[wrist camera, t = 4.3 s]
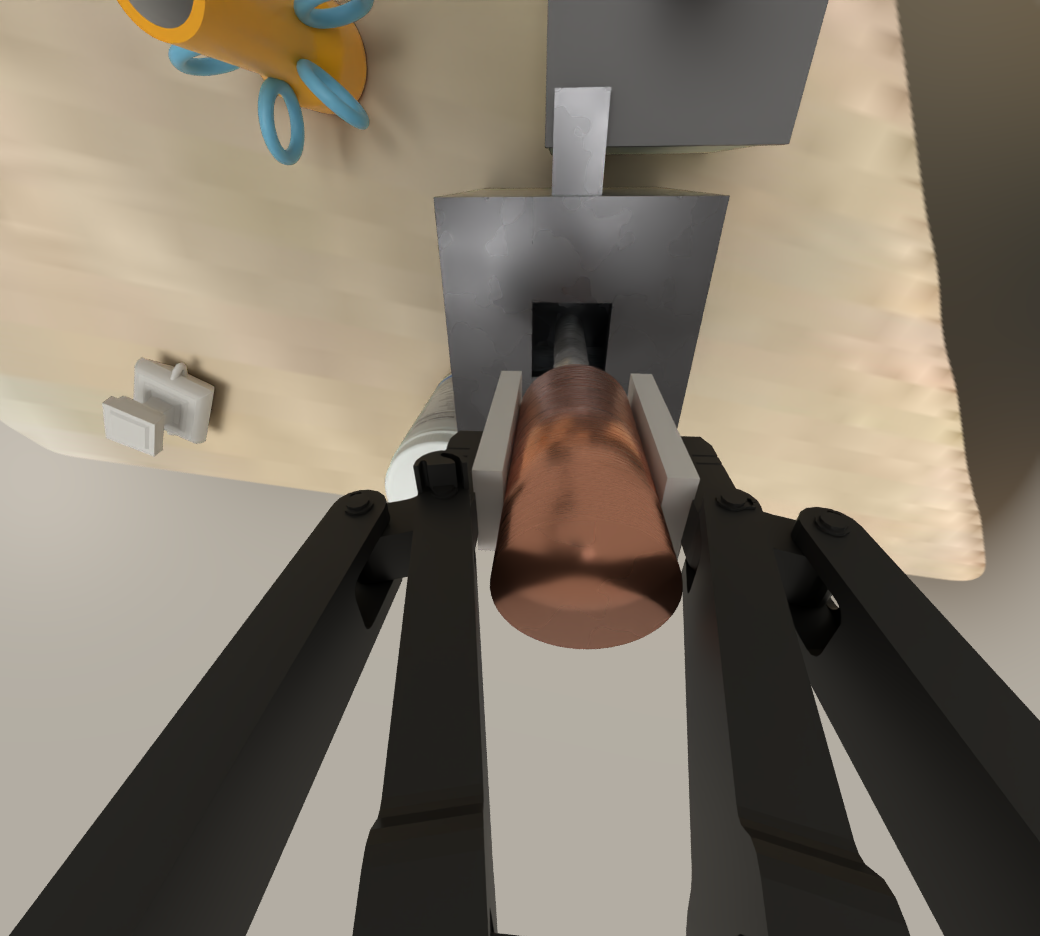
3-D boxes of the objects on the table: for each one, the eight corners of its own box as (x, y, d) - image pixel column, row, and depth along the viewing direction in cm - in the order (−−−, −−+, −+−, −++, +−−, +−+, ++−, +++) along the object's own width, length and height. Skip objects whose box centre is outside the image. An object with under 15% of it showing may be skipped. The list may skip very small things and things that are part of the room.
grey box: (481, 122, 30) (421, 82, 17) (669, 119, 30) (756, 74, 16) (492, 355, 40) (458, 444, 27) (634, 358, 39) (672, 451, 26)
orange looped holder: (442, 61, 29) (354, -23, 16) (363, 196, 34) (248, 209, 21) (273, -132, 25) (-12, -437, 12) (210, 53, 30) (-42, -35, 17)
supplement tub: (544, 426, 44) (538, 523, 32) (467, 462, 47) (435, 562, 35) (493, 344, 39) (464, 419, 27) (413, 389, 43) (354, 475, 30)
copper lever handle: (534, 291, 24) (484, 515, 8) (607, 291, 23) (703, 525, 8) (533, 361, 26) (493, 643, 10) (600, 362, 26) (663, 654, 10)
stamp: (161, 338, 42) (81, 370, 35) (231, 371, 43) (168, 409, 36) (157, 409, 46) (85, 451, 39) (220, 438, 48) (162, 482, 41)
